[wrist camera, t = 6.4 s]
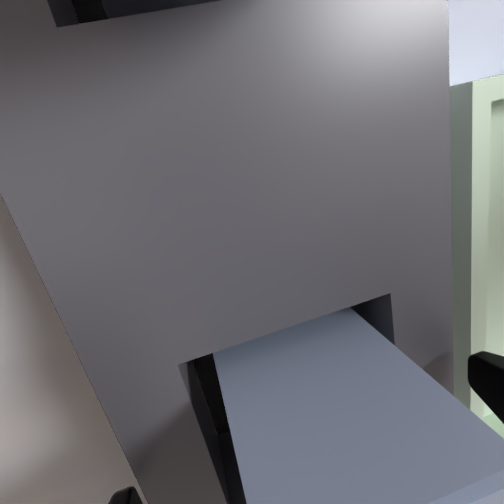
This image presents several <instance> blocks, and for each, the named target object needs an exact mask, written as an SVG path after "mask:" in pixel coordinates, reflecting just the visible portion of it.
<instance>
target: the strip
mask: <svg viewBox="0 0 504 504" xmlns="http://www.w3.org/2000/svg"><path fill="white" fill-rule="evenodd" d="M0 194H1V196H2V198H3V200H4V202H5V204H6V206H7V208H8V210H9V212H10V215H11V217H12V219H13V221H14V223H15V225H16V227H17V229H18V231H19V233H20V236H21V238H22V240H23V242H24V244H25V246H26V248H27V250H28V252H29V254H30V257H31V259H32V261H33V263H34V265H35V267H36V269H37V271H38V273H39V275H40V278H41V280H42V282H43V284H44V286H45V288H46V290H47V292H48V294H49V296H50V298H51V301H52V303H53V305H54V307H55V309H56V311H57V313H58V315H59V317H60V319H61V322H62V324H63V326H64V328H65V330H66V332H67V334H68V336H69V338H70V340H71V343H72V345H73V347H74V349H75V351H76V353H77V355H78V357H79V359H80V361H81V364H82V366H83V368H84V370H85V372H86V374H87V376H88V378H89V380H90V382H91V385H92V387H93V389H94V391H95V393H96V395H97V397H98V399H99V401H100V403H101V406H102V408H103V410H104V412H105V414H106V416H107V418H108V420H109V422H110V424H111V427H112V429H113V431H114V433H115V435H116V437H117V439H118V441H119V443H120V445H121V448H122V450H123V452H124V454H125V456H126V458H127V460H128V462H129V464H130V466H131V469H132V471H133V473H134V475H135V477H136V479H137V481H138V483H139V485H140V487H141V490H142V492H143V494H144V496H145V498H146V500H147V502H148V504H247V503H246V498H245V494H244V490H243V485H242V481H241V476H240V472H239V467H238V463H237V459H236V454H235V450H234V445H233V441H232V436H231V432H230V431H229V432H226V433H224V434H221V435H218V434H217V431H216V428H215V425H214V422H213V419H212V416H211V413H210V410H209V407H208V404H207V401H206V398H205V395H204V392H203V389H202V386H201V383H200V380H199V377H198V374H197V371H196V368H195V365H194V363H193V359H196V358H199V357H202V356H205V355H208V354H211V353H214V352H217V351H220V350H223V349H226V348H229V347H232V346H235V345H238V344H241V343H244V342H247V341H250V340H253V339H255V338H258V337H261V336H264V335H267V334H270V333H273V332H276V331H279V330H282V329H285V328H288V327H291V326H294V325H297V324H300V323H303V322H306V321H309V320H312V319H315V318H318V317H321V316H324V315H327V314H330V313H333V312H336V311H339V310H342V309H345V308H348V307H350V308H351V309H352V310H354V311H355V312H356V313H357V314H358V315H359V316H361V317H362V318H363V319H364V320H365V321H367V322H368V323H369V324H370V325H371V326H372V327H374V328H375V329H376V330H377V331H378V332H379V333H381V334H382V335H383V336H384V337H385V338H386V339H388V340H389V341H390V342H391V343H392V344H393V345H395V346H396V347H397V348H398V349H399V350H400V351H402V352H403V353H404V354H405V355H406V356H407V357H409V358H410V359H411V360H412V361H413V362H414V363H416V364H417V365H418V366H419V367H420V368H422V369H423V370H424V371H425V372H426V373H427V374H429V375H430V376H431V377H432V378H433V379H434V380H436V381H437V382H438V383H439V384H440V385H441V386H443V387H444V388H445V389H446V390H447V391H448V392H450V393H451V394H452V395H453V396H454V362H453V295H452V228H451V161H450V95H449V28H448V0H221V1H215V2H208V3H202V4H196V5H190V6H184V7H178V8H172V9H166V10H160V11H154V12H148V13H142V14H136V15H130V16H124V17H118V18H112V19H106V20H100V21H93V22H87V23H81V24H79V21H78V18H77V15H76V12H75V9H74V6H73V3H72V1H71V0H0Z"/></svg>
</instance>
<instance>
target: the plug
mask: <svg viewBox="0 0 504 504" xmlns="http://www.w3.org/2000/svg"><path fill="white" fill-rule="evenodd" d="M213 357H214V361H215V366H216V370H217V375H218V379H219V383H220V388H221V392H222V397H223V401H224V406H225V410H226V414H227V419H228V423H229V428H230V432H231V436H232V441H233V445H234V450H235V454H236V459H237V463H238V467H239V472H240V476H241V481H242V485H243V490H244V494H245V498H246V503H247V504H504V439H503V438H502V437H501V436H500V435H499V434H498V433H496V432H495V431H494V430H493V429H492V428H491V427H489V426H488V425H487V424H486V423H485V422H484V421H482V420H481V419H480V418H479V417H478V416H477V415H475V414H474V413H473V412H472V411H471V410H469V409H468V408H467V407H466V406H465V405H464V404H462V403H461V402H460V401H459V400H458V399H457V398H455V397H454V396H453V395H452V394H451V393H450V392H448V391H447V390H446V389H445V388H444V387H443V386H441V385H440V384H439V383H438V382H437V381H436V380H434V379H433V378H432V377H431V376H430V375H429V374H427V373H426V372H425V371H424V370H423V369H422V368H420V367H419V366H418V365H417V364H416V363H414V362H413V361H412V360H411V359H410V358H409V357H407V356H406V355H405V354H404V353H403V352H402V351H400V350H399V349H398V348H397V347H396V346H395V345H393V344H392V343H391V342H390V341H389V340H388V339H386V338H385V337H384V336H383V335H382V334H381V333H379V332H378V331H377V330H376V329H375V328H374V327H372V326H371V325H370V324H369V323H368V322H367V321H365V320H364V319H363V318H362V317H361V316H359V315H358V314H357V313H356V312H355V311H354V310H352V309H351V308H350V307H348V308H345V309H342V310H339V311H336V312H333V313H330V314H327V315H324V316H321V317H318V318H315V319H312V320H309V321H306V322H303V323H300V324H297V325H294V326H291V327H288V328H285V329H282V330H279V331H276V332H273V333H270V334H267V335H264V336H261V337H258V338H255V339H253V340H250V341H247V342H244V343H241V344H238V345H235V346H232V347H229V348H226V349H223V350H220V351H217V352H214V353H213Z"/></svg>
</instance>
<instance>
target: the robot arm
mask: <svg viewBox="0 0 504 504" xmlns="http://www.w3.org/2000/svg"><path fill="white" fill-rule="evenodd" d="M467 379H468V383H469V385H470V386H471V388H472V389H473V390H474V392H475V393H476V394H477V395H478V396H479V397H480V398H481V399H482V401H483V402H484V403H485V404H486V405H487V406H488V407H489V408H490V409H491V411H492V412H493V413H494V414H495V415H496V416H497V417H498V418H499V420H500V421H501V422H502V423H503V424H504V356H501V355H497V354H494V353H490V352H486V351H480V352H477V353H475V354H472V355H470V356H469V357H468V360H467ZM108 504H143V503H142V501H141V499H140V497H139V495H138V493H137V491H136V489H135V488H134V487H133V486H130V487H127V488H125V489H122V490H120V491H117V492H116V493H115V494H114V495H113V496H112V498H111V500H110V502H109V503H108Z"/></svg>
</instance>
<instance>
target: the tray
mask: <svg viewBox="0 0 504 504" xmlns="http://www.w3.org/2000/svg"><path fill="white" fill-rule="evenodd" d="M449 95H450V161H451V228H452V295H453V362H454V397H455V398H457V399H458V400H459V401H460V402H461V403H462V404H464V405H465V406H466V407H467V408H468V409H469V410H471V411H472V412H473V413H474V414H475V415H477V416H478V417H479V418H480V419H481V420H482V421H484V422H485V423H486V424H487V425H488V426H489V427H491V428H492V429H493V430H494V431H495V432H496V433H498V434H499V435H500V436H501V437H502V438H503V439H504V424H503V423H502V422H501V421H500V420H499V418H498V417H497V416H496V415H495V414H494V413H493V412H492V411H491V409H490V408H489V407H488V406H487V405H486V404H485V403H484V402H483V401H482V399H481V398H480V397H479V396H478V395H477V394H476V393H475V392H474V390H473V389H472V388H471V386H470V385H469V383H468V379H467V360H468V357H469V356H470V355H472V354H475V353H477V352H480V351H486V352H490V353H494V354H497V355H501V356H504V74H501V75H497V76H493V77H488V78H484V79H480V80H476V81H471V82H467V83H463V84H458V85H454V86H450V87H449Z"/></svg>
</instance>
